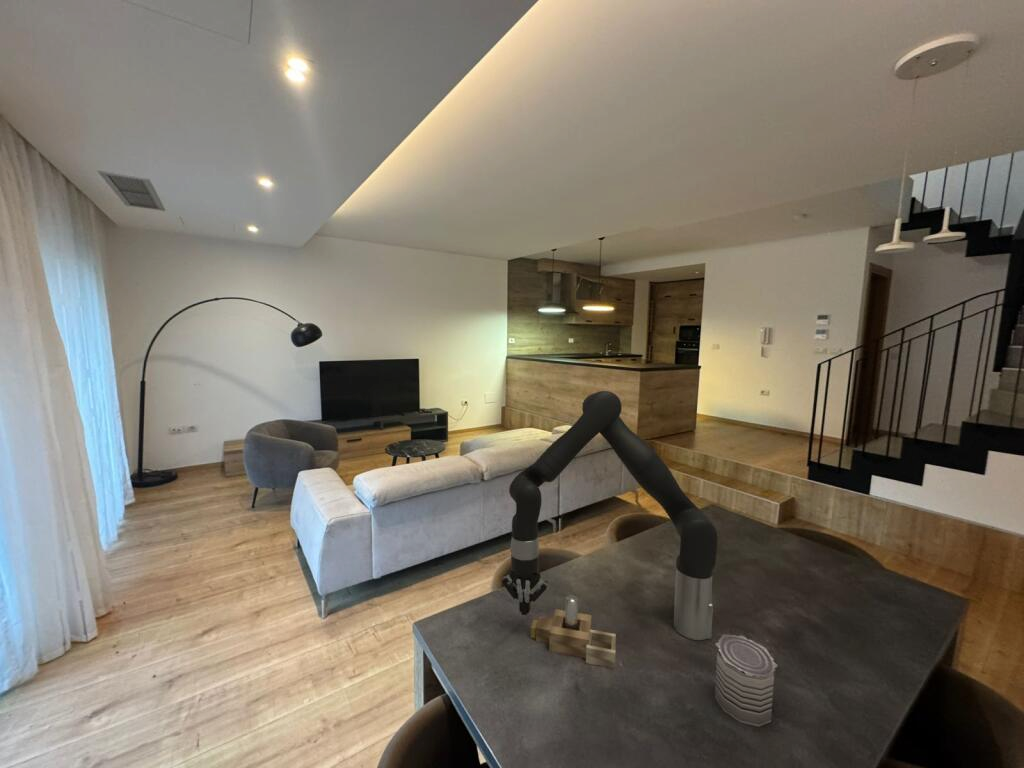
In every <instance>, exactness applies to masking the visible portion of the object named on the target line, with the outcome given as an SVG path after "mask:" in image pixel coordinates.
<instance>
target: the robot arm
mask: <svg viewBox="0 0 1024 768" xmlns="http://www.w3.org/2000/svg"><path fill="white" fill-rule="evenodd" d="M581 409H582V414H581V416H580V417H579V418H578V419H577V421H576V422H575V423H574V424H573V425H572V426H571V427H570V428H569V429H568V430H566V432H564V433H563V434H562V435H561V436H559V437H558V438H557V439H556V440H554V441H553V443H552V444H550V445H549V446H548V447H547V448H546V450H545V451H544V452H542V454H541V455H540V456H539V457H538V458H537V459H536V460H535V462H534V463H532V464H530V465H529V466H528V467H526V468H525V469H523V470H522V471H521V472H519V473H518V474H517V475H516V476H515V477H514V478H513V480H512V481H511V483H510V485H509V488H508V489H509V490H508V491H509V495H510V498H511V499H513V501H514V502H515V509H516V510H515V514H514V515H513V516H512V519H511V542H510V571H509V574H507V575H504V576H503V579H502V580H501V583H502V585H503V587H505V589H506V590H507V592H508V593H509V595H510V596H511V597H512V599H514V600H515V599H516V600H518V602H519V603H518V605H519V606H518V609H519V612H520V613H521V616H522V615H523V616H528V614H530V612H531V602H534V603H535V602H536V601H537V600H538V599H539V598H540V596H542V594H543V593H544V592H545V591H546V590H547V588H548V584H549V581H547V580H544V579H542V578H541V574H540V568H539V567H540V566H539V564H540V563H539V561H540V559H539V558H540V557H539V554H540V552H539V551H540V546H539V545H540V544H539V524H538V523H539V519H540V518H539V517H540V513H541V509H542V499H543V498H542V493H541V489H540V487H541V486H542V485H543V484H544V483H552V482H553V481H555V480H556V479H557V478H558V476H560V474H561V473H562V472H563V471H564V470H565V469H566V468H567V466H568V465H570V463H571V462H572V461H573V460H574V459H575V457H576V456H578V454H579V453H580V452H581V451H582V450H583V449H584V448H585V447H586V446H587V444H589V443H590V442H591V441H592V440H593V439H594V438H595V437H597V435H598V434H600V435H601V436H602V437H603V438H604V439H605V441H606V442H607V443H608V444H609V445H610V447H611V449H613V452H614V453H615V454H616V456H617V458H619V460H620V461H621V462H622V464H623V465H624V466H625V468H626V469H627V471H628V472H629V474H631V476H632V477H633V478H634V480H635V481H636V483H638V485H639V486H640V487H641V488H642V489H643V490H644V491H645V492H646V493H647V494H648V495H650V497H652V498H653V499H654V500H655V501H656V502H657V503H658V504H659V505H660V506H661V508H662V509H663V510H664V512H665V513H666V514H667V516H668V517H669V519H670V521H671V522H672V524H673V526H674V528H675V529H676V530H675V531H676V532H677V534H678V535H679V537H680V542H679V543H680V545H679V554H678V555H677V557H676V559H675V561H676V564H675V580H674V581H675V582H674V583H675V584H674V585H675V587H674V608H673V628H674V629H675V631H676V632H677V633H678V634H679V635H681V636H683V637H685V638H687V639H690V640H695V641H703V640H708V639H709V640H712V631H713V616H714V615H713V613H714V606H713V602H712V592H713V591H712V590H713V589H712V587H713V575H714V574H713V572H714V568H715V566H716V563H717V553H718V552H717V551H718V538H719V537H718V531H717V529H716V526H715V524H713V523H712V521H711V520H710V519H709V517H708V516H707V515H706V514H705V513H704V512H703V511H702V510H701V509H700V508H699V507H698V506H697V505H696V504H695V503H694V502H693V501H692V500H691V499H690V498H689V496H687V495H686V494H685V492H684V491H683V490H682V488H681V487H680V485H679V483H678V482H677V480H676V478H675V476H674V475H673V473H672V472H671V470H670V469H669V467H668V466H667V464H666V463H665V462H664V460H663V459H662V457H660V455H659V454H658V453H657V452H656V450H655V449H653V447H652V446H650V445H649V444H648V443H647V442H646V441H645V440H643V439H642V438H641V437H640V436H639V435H638V434H636V433H634V432H633V430H631V429H630V428H629V427H628V426H627V424H626V423H625V422H624V421H623V419H622V418H621V416H620V415H621V413H622V402H621V399H620V397H619V396H618V395H617V394H615V393H614V392H612V391H608V390H602V391H597V392H594V393H592V394H590V395H588V396H586V397H585V398H584V400H583V402H582V408H581ZM537 584H538V585H537ZM536 586H537V588H536V590H535V591H534V592H533V593H532V590H533V589H534V588H535V587H536Z"/></svg>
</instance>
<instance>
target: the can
mask: <svg viewBox="0 0 1024 768" xmlns="http://www.w3.org/2000/svg"><path fill="white" fill-rule="evenodd" d="M715 646H716V649H717V652H716V668H715V669H716V670H715V671H716V672H715V685H714V687H715V688H714V689H715V691H714V699H715V700H716V702H717V703H718V705H719V706H720V708H721V710H722V711H723V712H724V713H726V714H727V715H729V716H730V717H732V718H734V719H735V720H736V721H737V722H739V723H741V724H746V725H749V726H755V727H758V728H759V727H762V726H764V725H766V724H769V723H771V722H772V713H773V697H774V683H775V671H776V670H777V667H779V665H778V664H777V662H776V661H775V659H774V658H773V657H772V655H771V654H770V653H769V651H768V650H767V648H766V647H764V646H762V644H759V643H757V642H755V641H753V640H751V639H750V638H748V637H746V636H745V635H737V634H724V633H723V634H722V635H721V636H720V638H719V639H717V642H716V643H715Z"/></svg>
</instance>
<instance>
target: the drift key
mask: <svg viewBox="0 0 1024 768" xmlns="http://www.w3.org/2000/svg"><path fill="white" fill-rule="evenodd" d="M538 620H539V619H533V621H532V624H531V626H530V638H531V639H536V627H537V623H538Z"/></svg>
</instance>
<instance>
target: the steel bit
mask: <svg viewBox="0 0 1024 768" xmlns="http://www.w3.org/2000/svg"><path fill="white" fill-rule="evenodd" d="M578 603H579V598H578V596H576V595H574V594H568V595H566V596H565V607H564V608H565V609H564V611H565V628H566V629H571V630H577V615H578V613H579V612H578V611H579V610H578V609H579V608H578V606H579V604H578Z"/></svg>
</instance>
